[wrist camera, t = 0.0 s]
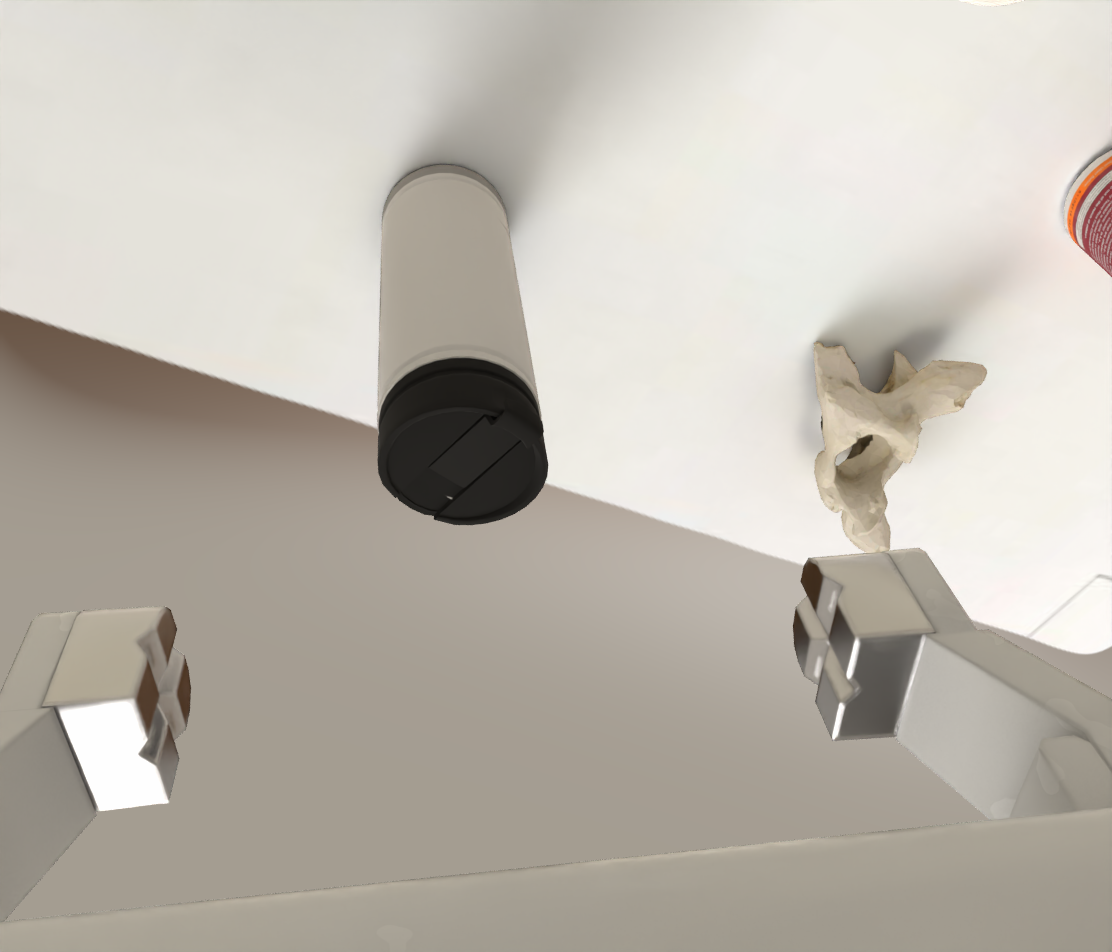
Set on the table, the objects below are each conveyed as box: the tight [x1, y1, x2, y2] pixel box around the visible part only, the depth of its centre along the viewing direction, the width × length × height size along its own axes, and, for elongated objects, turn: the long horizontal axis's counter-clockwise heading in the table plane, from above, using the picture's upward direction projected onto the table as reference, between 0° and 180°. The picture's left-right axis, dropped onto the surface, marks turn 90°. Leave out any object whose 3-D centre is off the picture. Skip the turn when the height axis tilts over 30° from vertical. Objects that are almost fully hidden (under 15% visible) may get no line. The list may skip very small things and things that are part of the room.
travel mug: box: [377, 165, 548, 525], centre depth 44 cm, size 6×7×20 cm
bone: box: [814, 342, 987, 553], centre depth 61 cm, size 9×14×8 cm, turn 4°
